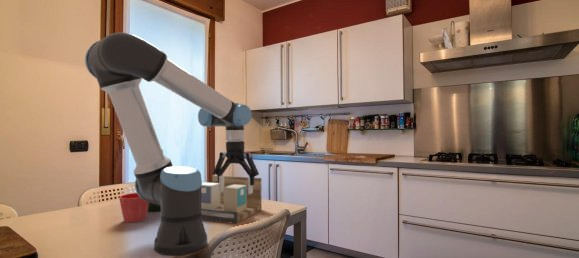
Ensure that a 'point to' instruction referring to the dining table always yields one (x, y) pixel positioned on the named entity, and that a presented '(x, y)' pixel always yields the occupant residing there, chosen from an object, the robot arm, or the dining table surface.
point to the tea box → (235, 198)
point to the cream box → (210, 195)
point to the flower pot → (133, 207)
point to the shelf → (228, 216)
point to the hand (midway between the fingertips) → (235, 192)
